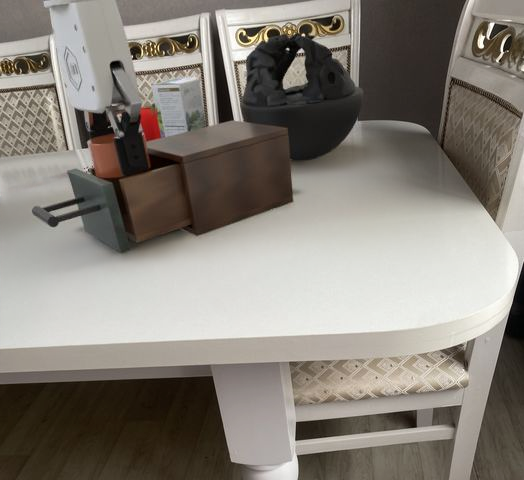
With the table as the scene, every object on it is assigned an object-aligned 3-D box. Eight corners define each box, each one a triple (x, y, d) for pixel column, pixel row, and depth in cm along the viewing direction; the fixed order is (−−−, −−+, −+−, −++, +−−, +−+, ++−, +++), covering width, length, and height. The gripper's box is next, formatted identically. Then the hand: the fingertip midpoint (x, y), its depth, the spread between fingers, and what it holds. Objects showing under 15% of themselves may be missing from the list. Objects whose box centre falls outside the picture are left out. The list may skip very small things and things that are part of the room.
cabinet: (197, 236, 65) (182, 156, 60) (151, 215, 74) (134, 144, 69) (293, 201, 72) (287, 127, 67) (241, 186, 81) (232, 120, 76)
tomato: (120, 168, 100) (106, 109, 95) (161, 152, 108) (150, 97, 102) (166, 171, 94) (154, 109, 88) (206, 155, 102) (197, 96, 96)
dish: (109, 184, 59) (100, 147, 57) (88, 175, 64) (78, 140, 62) (161, 169, 62) (154, 134, 60) (137, 162, 67) (129, 129, 65)
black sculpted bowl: (271, 145, 102) (260, 33, 92) (374, 143, 95) (375, 21, 85) (229, 176, 87) (210, 45, 77) (347, 175, 80) (344, 31, 69)
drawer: (70, 271, 58) (46, 201, 53) (39, 246, 66) (16, 183, 61) (225, 217, 67) (215, 154, 63) (181, 201, 75) (170, 144, 71)
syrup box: (185, 166, 95) (169, 78, 87) (213, 167, 93) (199, 76, 85) (168, 176, 91) (149, 83, 83) (196, 176, 89) (179, 81, 81)
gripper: (17, -3, 57) (67, 165, 67) (72, -20, 45) (124, 188, 55) (82, -9, 61) (121, 151, 70) (150, -26, 48) (185, 171, 58)
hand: (122, 166), depth 63 cm, fingers closed on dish, 6 cm apart
